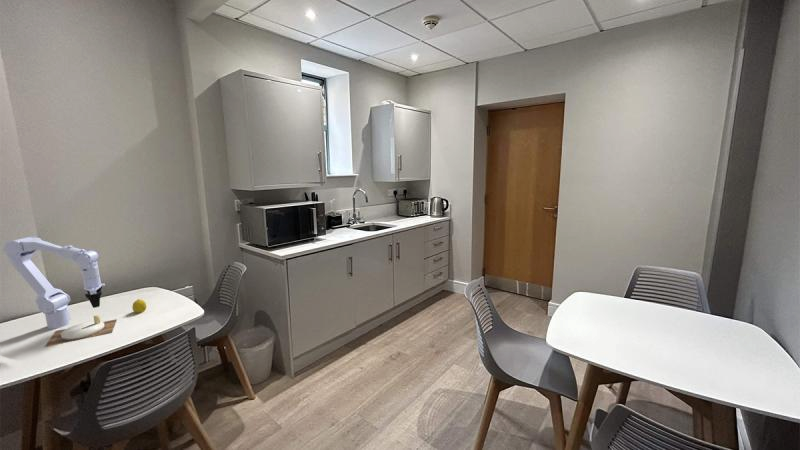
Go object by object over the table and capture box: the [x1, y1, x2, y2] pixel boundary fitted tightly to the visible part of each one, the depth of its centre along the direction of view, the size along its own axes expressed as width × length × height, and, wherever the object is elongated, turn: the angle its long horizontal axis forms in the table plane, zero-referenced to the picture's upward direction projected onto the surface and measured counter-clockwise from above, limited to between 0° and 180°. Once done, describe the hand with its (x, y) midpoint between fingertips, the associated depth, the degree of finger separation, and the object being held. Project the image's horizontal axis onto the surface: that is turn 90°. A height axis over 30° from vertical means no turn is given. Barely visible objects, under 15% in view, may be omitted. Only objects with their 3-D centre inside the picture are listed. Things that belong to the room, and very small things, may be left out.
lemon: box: [132, 298, 147, 314], centre depth 166 cm, size 6×6×8 cm
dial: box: [61, 314, 105, 340], centre depth 145 cm, size 14×14×5 cm
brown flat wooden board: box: [44, 318, 118, 348], centre depth 146 cm, size 16×21×2 cm
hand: (96, 304), depth 153 cm, fingers open, 7 cm apart
